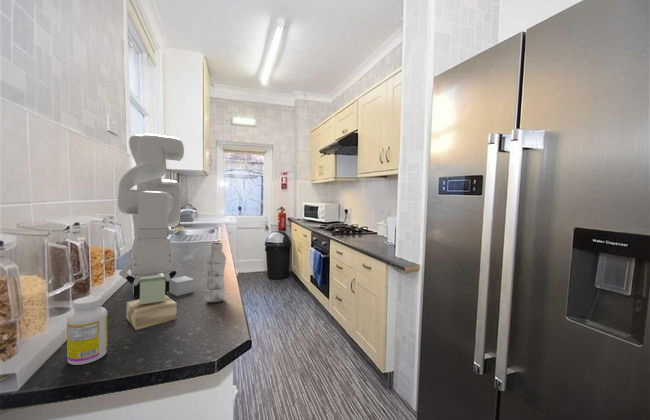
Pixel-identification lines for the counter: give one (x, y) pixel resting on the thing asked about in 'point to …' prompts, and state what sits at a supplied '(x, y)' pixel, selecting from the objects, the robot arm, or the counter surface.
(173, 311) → the beech block
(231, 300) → the counter surface
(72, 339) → the supplement bottle
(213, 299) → the plastic bottle
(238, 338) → the counter surface
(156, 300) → the sage-green block
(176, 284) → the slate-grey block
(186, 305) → the counter surface
